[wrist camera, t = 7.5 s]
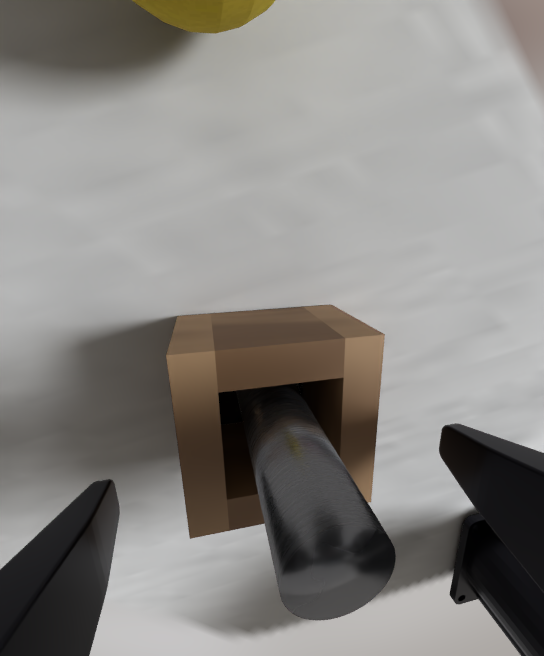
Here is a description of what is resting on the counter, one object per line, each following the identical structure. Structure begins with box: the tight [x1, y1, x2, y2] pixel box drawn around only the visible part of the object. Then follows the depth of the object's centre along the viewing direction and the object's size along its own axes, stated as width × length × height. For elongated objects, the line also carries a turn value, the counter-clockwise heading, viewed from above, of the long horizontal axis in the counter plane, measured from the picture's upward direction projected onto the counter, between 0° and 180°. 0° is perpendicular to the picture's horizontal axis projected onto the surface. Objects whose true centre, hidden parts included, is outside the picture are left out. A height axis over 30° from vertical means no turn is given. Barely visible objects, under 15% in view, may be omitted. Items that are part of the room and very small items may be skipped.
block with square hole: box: [166, 305, 385, 538], centre depth 11 cm, size 6×6×4 cm
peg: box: [236, 384, 395, 620], centre depth 9 cm, size 2×2×8 cm
